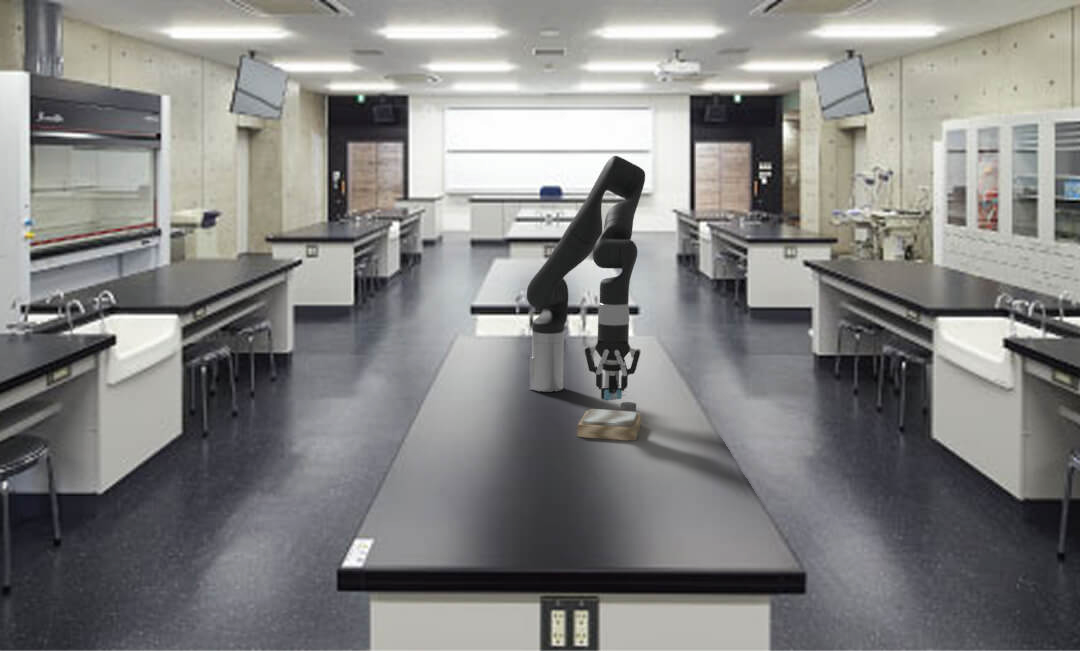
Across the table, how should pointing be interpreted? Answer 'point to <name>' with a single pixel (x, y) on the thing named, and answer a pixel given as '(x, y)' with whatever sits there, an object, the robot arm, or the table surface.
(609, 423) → the base block
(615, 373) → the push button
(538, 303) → the robot arm
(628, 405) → the rubber stopper
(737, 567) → the table surface
